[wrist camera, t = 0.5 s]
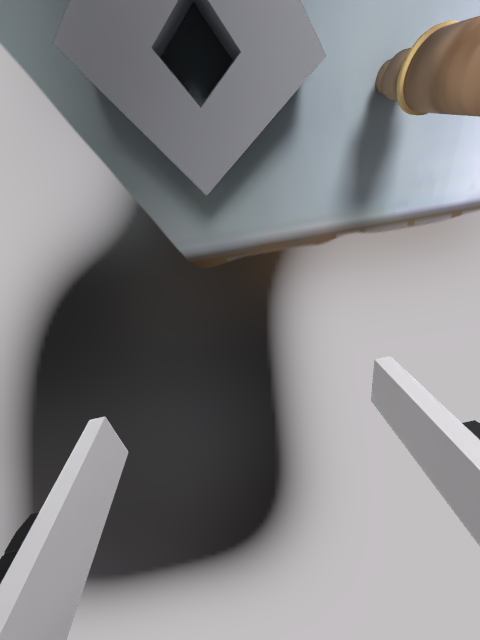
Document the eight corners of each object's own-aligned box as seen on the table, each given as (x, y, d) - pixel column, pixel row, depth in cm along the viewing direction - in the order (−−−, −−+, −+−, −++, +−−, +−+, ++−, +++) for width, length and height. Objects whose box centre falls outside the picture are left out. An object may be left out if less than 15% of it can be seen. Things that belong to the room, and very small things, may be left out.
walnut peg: (406, 18, 22) (561, -41, 13) (423, 78, 25) (559, 66, 16) (353, 75, 25) (451, 62, 15) (374, 125, 28) (468, 139, 18)
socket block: (182, -164, 16) (176, -264, 12) (302, 63, 24) (326, 55, 19) (82, 54, 22) (52, 43, 17) (205, 180, 29) (206, 195, 25)
